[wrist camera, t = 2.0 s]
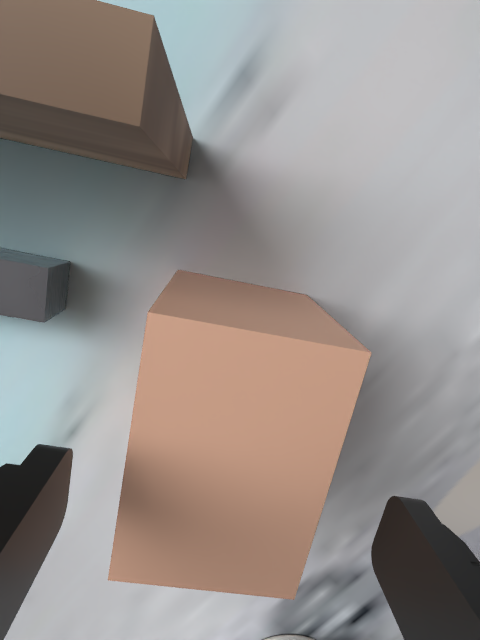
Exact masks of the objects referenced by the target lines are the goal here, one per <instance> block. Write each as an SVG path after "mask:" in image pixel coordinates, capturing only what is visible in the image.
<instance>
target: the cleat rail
mask: <svg viewBox="0 0 480 640" xmlns="http://www.w3.org/2000/svg"><path fill="white" fill-rule="evenodd" d="M69 266H70V261H65V260H60V259H55V258H50V257H44V256H39V255H34V254H29V253H24V252H18V251H13V250H8V249H3V248H0V315H4V316H10V317H16V318H22V319H27V320H33V321H39V322H46V321H47V320H49V319H50V318H52V317H54V316H55V315H57V314H59V313H60V312H62V311H63V310H65V309H66V299H67V288H68V277H69Z"/></svg>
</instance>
